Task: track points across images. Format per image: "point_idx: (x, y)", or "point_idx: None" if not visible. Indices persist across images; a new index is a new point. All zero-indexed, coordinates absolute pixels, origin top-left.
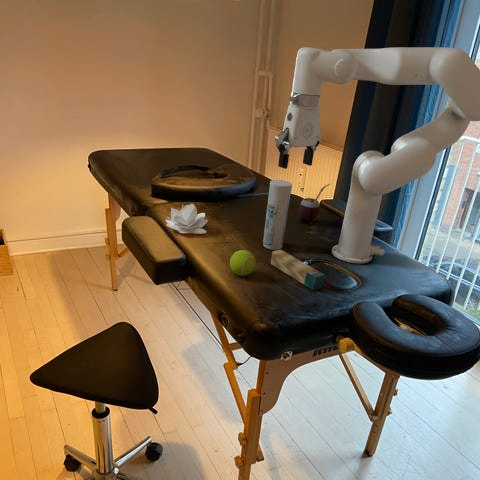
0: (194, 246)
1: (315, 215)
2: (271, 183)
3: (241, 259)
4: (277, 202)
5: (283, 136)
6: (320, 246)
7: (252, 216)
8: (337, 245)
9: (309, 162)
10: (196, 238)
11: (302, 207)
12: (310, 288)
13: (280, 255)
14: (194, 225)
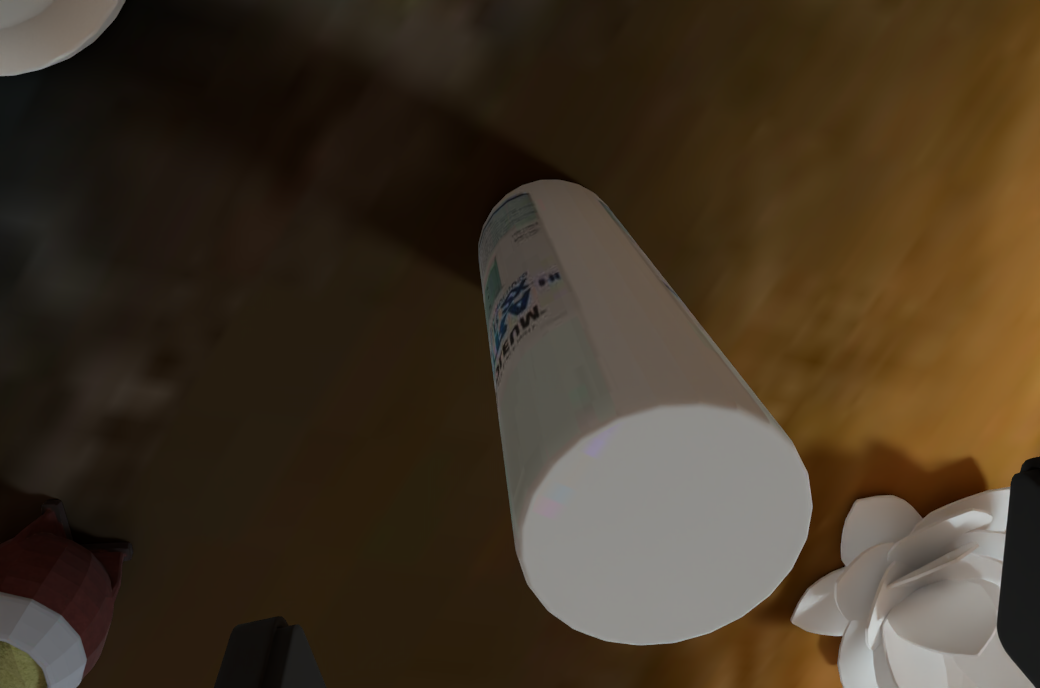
0: (1025, 353)
1: (1, 545)
2: (807, 532)
3: None
4: (701, 331)
5: None
6: (171, 140)
7: (427, 674)
8: (27, 57)
9: (291, 685)
10: (943, 450)
11: (92, 628)
12: None
13: None
14: (902, 568)
